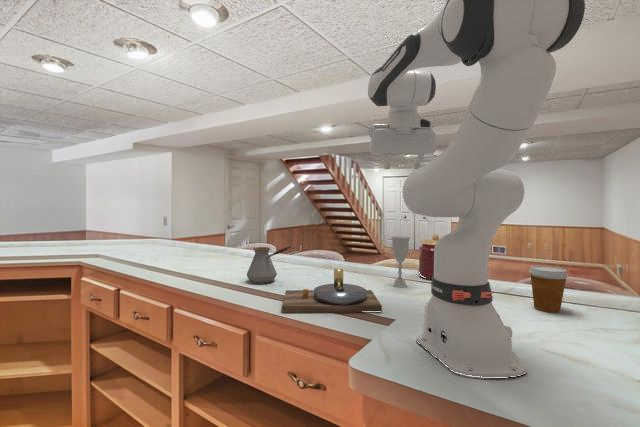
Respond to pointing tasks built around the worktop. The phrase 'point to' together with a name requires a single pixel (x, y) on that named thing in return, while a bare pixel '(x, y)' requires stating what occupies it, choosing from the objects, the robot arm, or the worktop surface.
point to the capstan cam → (340, 292)
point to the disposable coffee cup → (548, 287)
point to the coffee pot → (263, 265)
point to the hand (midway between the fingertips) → (402, 169)
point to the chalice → (400, 255)
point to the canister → (427, 257)
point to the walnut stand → (308, 304)
